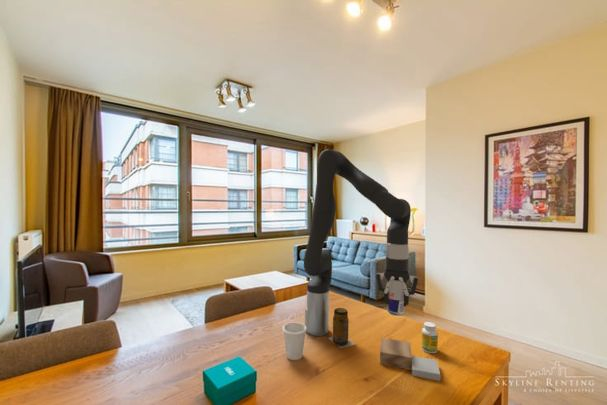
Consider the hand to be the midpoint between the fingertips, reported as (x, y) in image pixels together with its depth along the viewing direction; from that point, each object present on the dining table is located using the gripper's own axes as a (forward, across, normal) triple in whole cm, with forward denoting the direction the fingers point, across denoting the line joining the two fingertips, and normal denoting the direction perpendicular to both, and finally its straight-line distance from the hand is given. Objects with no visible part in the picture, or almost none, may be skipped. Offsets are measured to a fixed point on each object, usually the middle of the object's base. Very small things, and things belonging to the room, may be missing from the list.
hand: (396, 304), depth 95 cm
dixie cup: (+19, -34, -10) cm, 40 cm away
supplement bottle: (+19, +12, +10) cm, 25 cm away
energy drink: (+3, 0, 0) cm, 3 cm away
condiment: (+19, -20, +5) cm, 28 cm away
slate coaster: (+19, +9, -4) cm, 22 cm away
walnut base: (+19, 0, 0) cm, 19 cm away
